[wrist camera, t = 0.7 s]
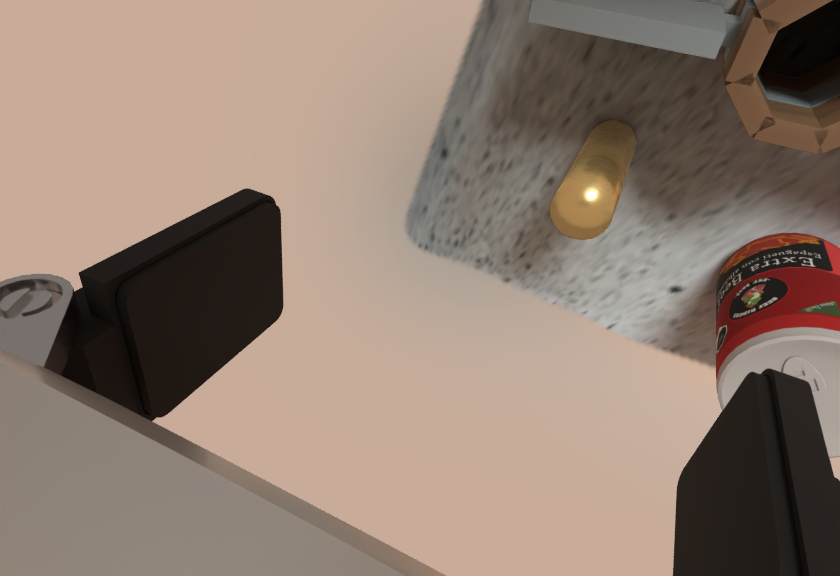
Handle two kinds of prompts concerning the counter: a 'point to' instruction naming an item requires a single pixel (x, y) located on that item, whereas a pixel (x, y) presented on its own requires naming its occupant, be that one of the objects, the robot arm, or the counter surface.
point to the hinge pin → (594, 181)
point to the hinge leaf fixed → (779, 82)
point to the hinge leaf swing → (667, 31)
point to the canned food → (783, 320)
